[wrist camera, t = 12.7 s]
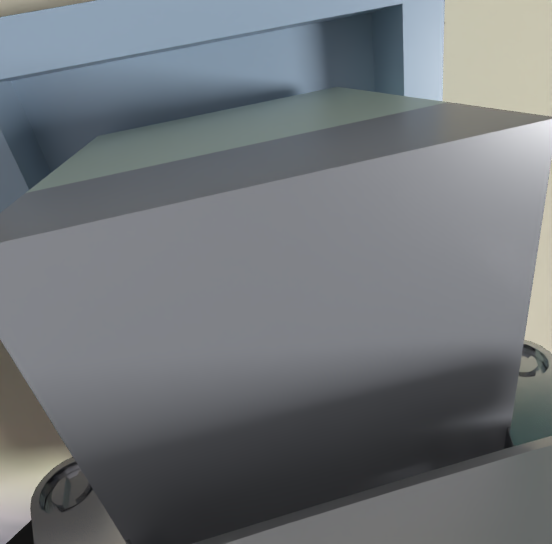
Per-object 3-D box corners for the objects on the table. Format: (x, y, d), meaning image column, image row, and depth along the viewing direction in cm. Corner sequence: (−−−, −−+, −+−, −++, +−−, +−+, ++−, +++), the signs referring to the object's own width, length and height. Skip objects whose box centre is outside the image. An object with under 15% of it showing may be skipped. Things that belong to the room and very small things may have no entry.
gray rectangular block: (337, 87, 10) (556, 117, 4) (367, 417, 16) (479, 636, 10) (97, 135, 10) (-53, 255, 4) (216, 460, 15) (236, 720, 9)
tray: (392, -35, 11) (445, -61, 9) (405, 415, 19) (434, 461, 17) (-40, 42, 10) (-105, 35, 8) (168, 484, 18) (166, 543, 16)
